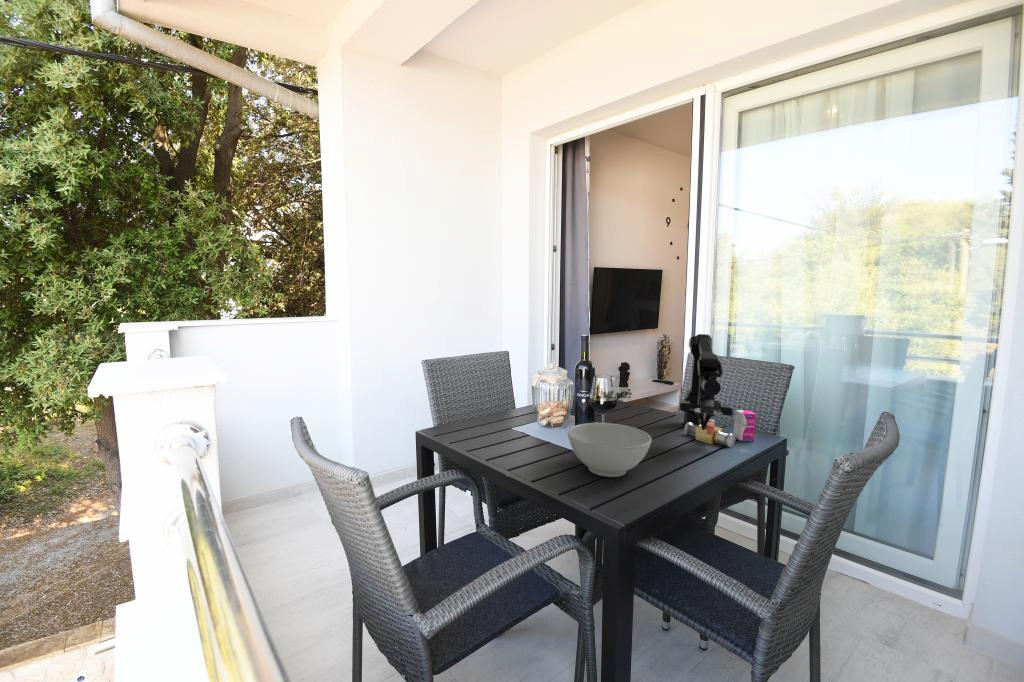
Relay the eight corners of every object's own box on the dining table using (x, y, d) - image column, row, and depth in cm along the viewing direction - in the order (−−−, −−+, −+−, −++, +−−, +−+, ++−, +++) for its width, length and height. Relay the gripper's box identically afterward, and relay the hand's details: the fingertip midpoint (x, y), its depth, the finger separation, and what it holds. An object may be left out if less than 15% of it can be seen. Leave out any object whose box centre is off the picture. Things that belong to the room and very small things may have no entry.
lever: (704, 425, 196) (705, 418, 196) (714, 426, 195) (714, 419, 195) (705, 434, 184) (705, 426, 184) (715, 435, 183) (716, 427, 183)
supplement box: (739, 441, 194) (742, 413, 193) (732, 436, 200) (735, 409, 199) (754, 441, 194) (756, 413, 193) (746, 437, 200) (749, 409, 199)
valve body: (682, 435, 200) (683, 423, 199) (692, 432, 204) (693, 420, 204) (726, 448, 185) (727, 435, 184) (736, 445, 189) (737, 432, 188)
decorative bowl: (549, 468, 161) (551, 432, 159) (597, 450, 179) (599, 418, 178) (619, 494, 142) (621, 454, 140) (664, 471, 161) (667, 435, 159)
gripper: (682, 391, 179) (678, 432, 181) (737, 396, 175) (733, 439, 176) (680, 385, 190) (677, 424, 192) (732, 390, 185) (728, 430, 187)
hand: (703, 429), depth 187 cm, fingers closed
